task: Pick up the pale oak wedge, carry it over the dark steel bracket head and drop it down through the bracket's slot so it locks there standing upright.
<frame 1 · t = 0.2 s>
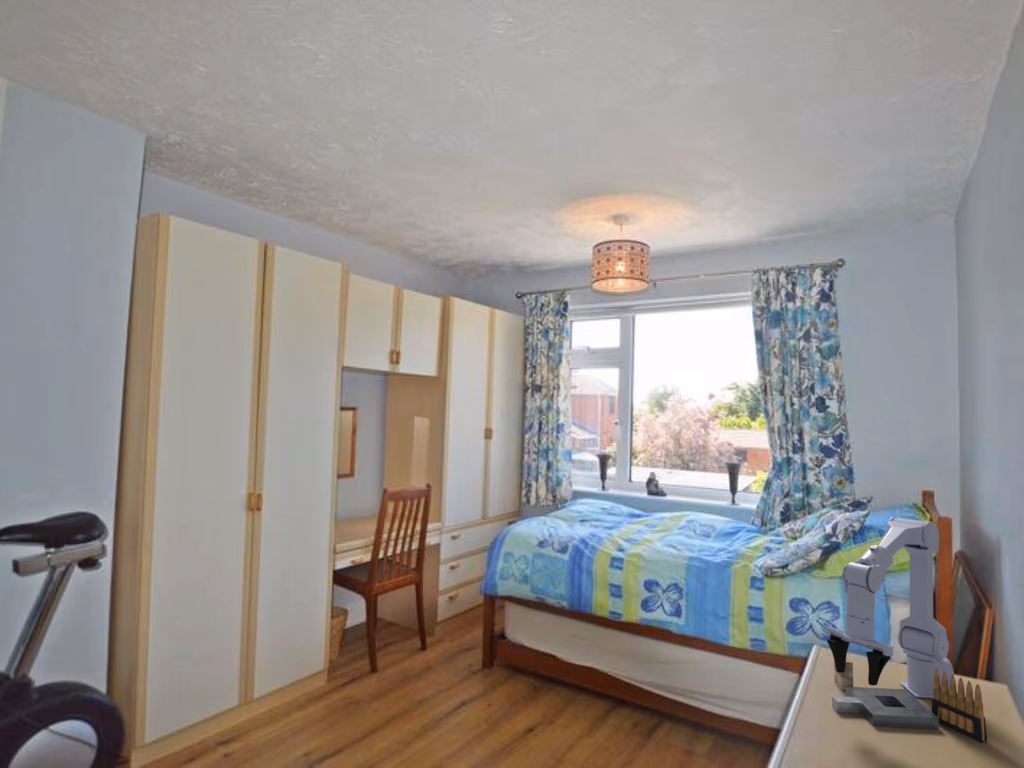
hand: (856, 678, 137), 11 cm above the cabinet, tool pointing down, fingers open, 7 cm apart
steel bracket head: (890, 712, 143), on the cabinet
ammunition clip: (958, 731, 135), on the cabinet
oak wedge: (843, 686, 156), on the cabinet
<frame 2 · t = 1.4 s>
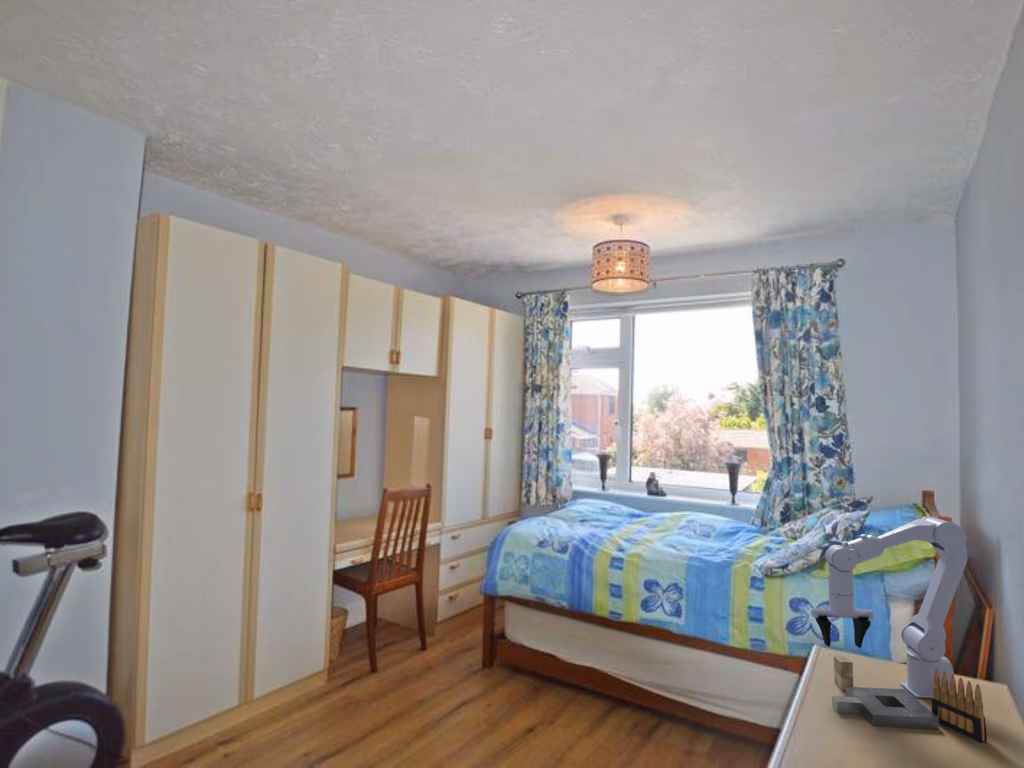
hand: (842, 645, 157), 10 cm above the cabinet, tool pointing down, fingers open, 7 cm apart
nothing on the cabinet moved.
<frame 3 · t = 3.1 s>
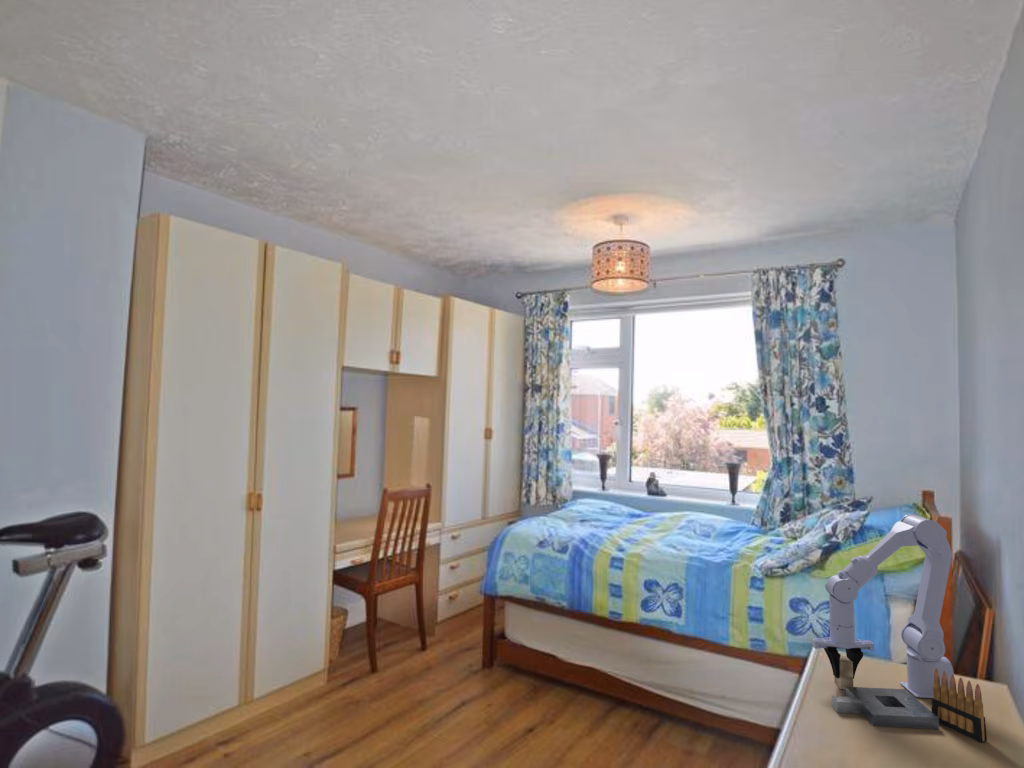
hand: (843, 676, 156), 2 cm above the cabinet, tool pointing down, fingers closed on oak wedge, 3 cm apart
oak wedge: (843, 686, 156), on the cabinet, touching gripper
everything else where it was.
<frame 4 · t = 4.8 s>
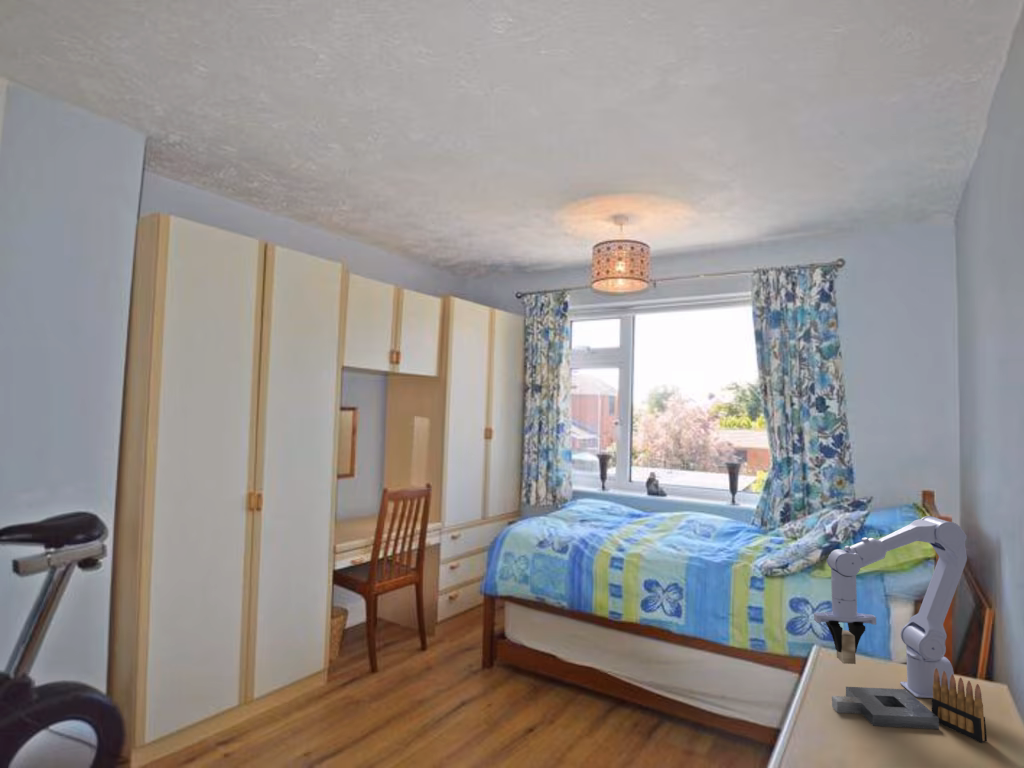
hand: (845, 650, 156), 9 cm above the cabinet, tool pointing down, fingers closed on oak wedge, 3 cm apart
oak wedge: (846, 660, 156), point 7 cm above the cabinet, touching gripper
everything else where it was.
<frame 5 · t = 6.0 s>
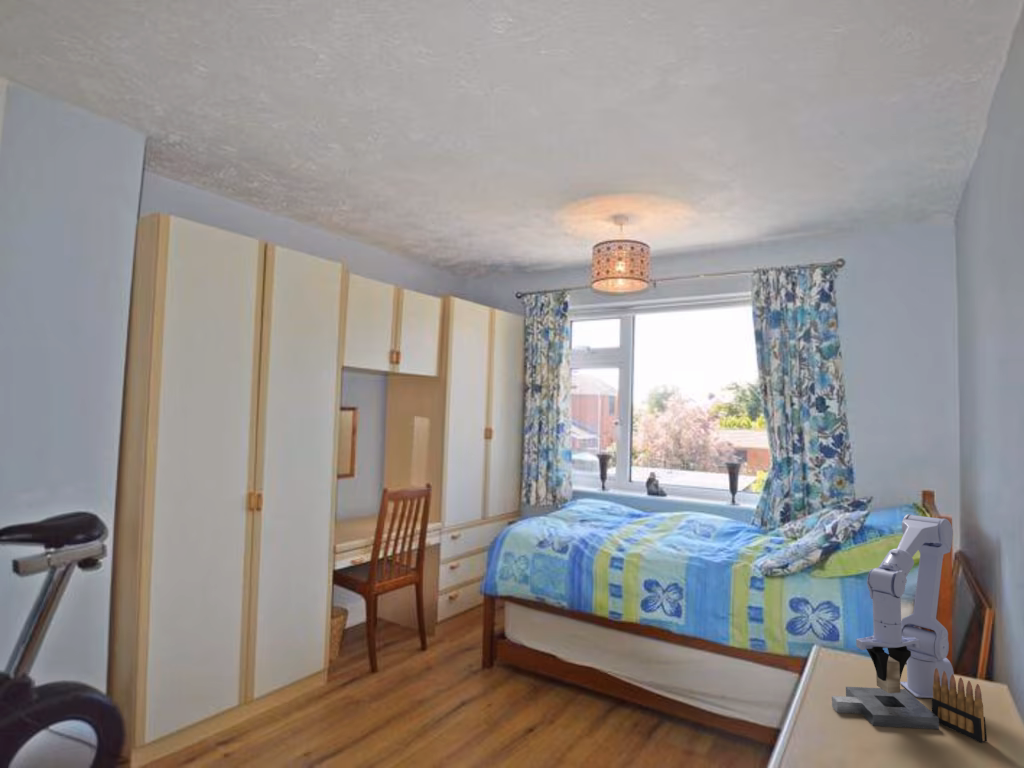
hand: (888, 678, 143), 8 cm above the cabinet, tool pointing down, fingers closed on oak wedge, 3 cm apart
oak wedge: (888, 688, 143), point 5 cm above the cabinet, touching gripper
everything else where it was.
when the fingers open (3 cm above the cabinet, at t = 7.0 s): oak wedge stays where it is, resting in steel bracket head.
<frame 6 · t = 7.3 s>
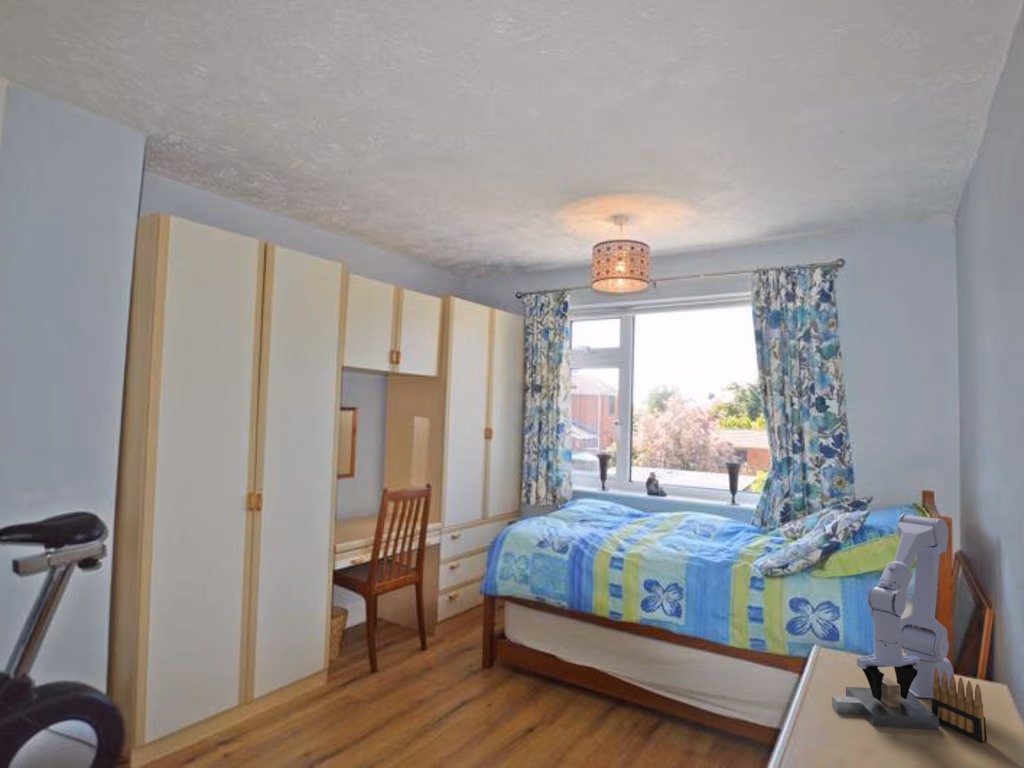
hand: (889, 697, 143), 3 cm above the cabinet, tool pointing down, fingers open, 6 cm apart
oak wedge: (889, 711, 143), resting in steel bracket head
everything else where it was.
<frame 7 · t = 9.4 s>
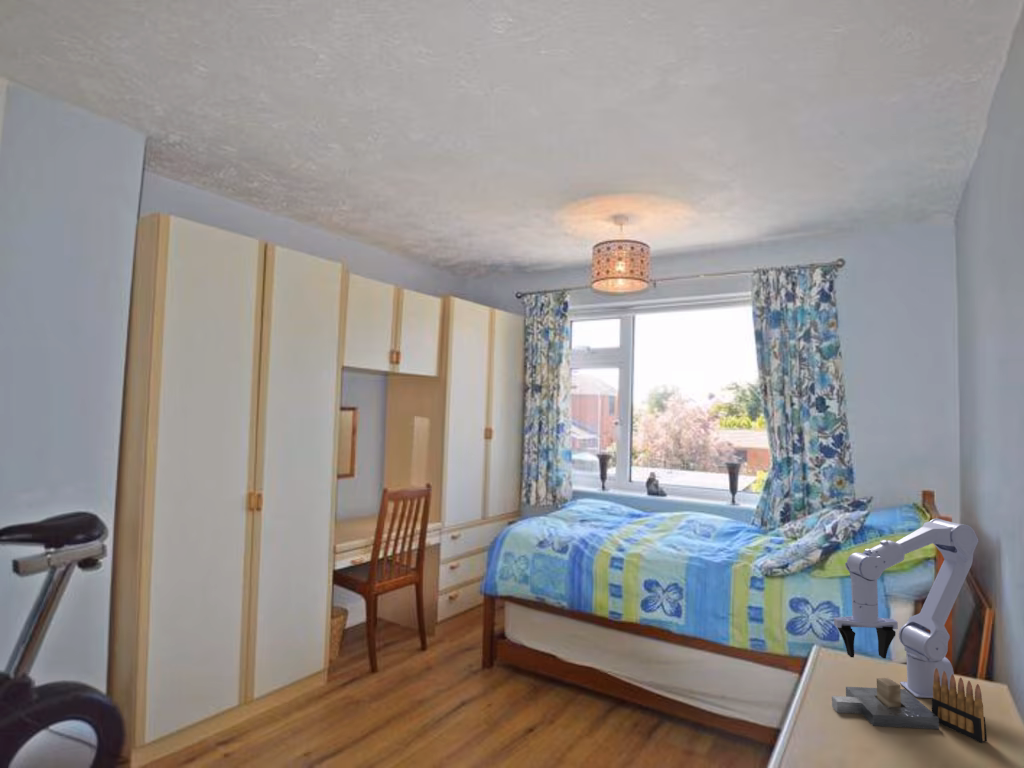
hand: (866, 656, 152), 9 cm above the cabinet, tool pointing down, fingers open, 7 cm apart
nothing on the cabinet moved.
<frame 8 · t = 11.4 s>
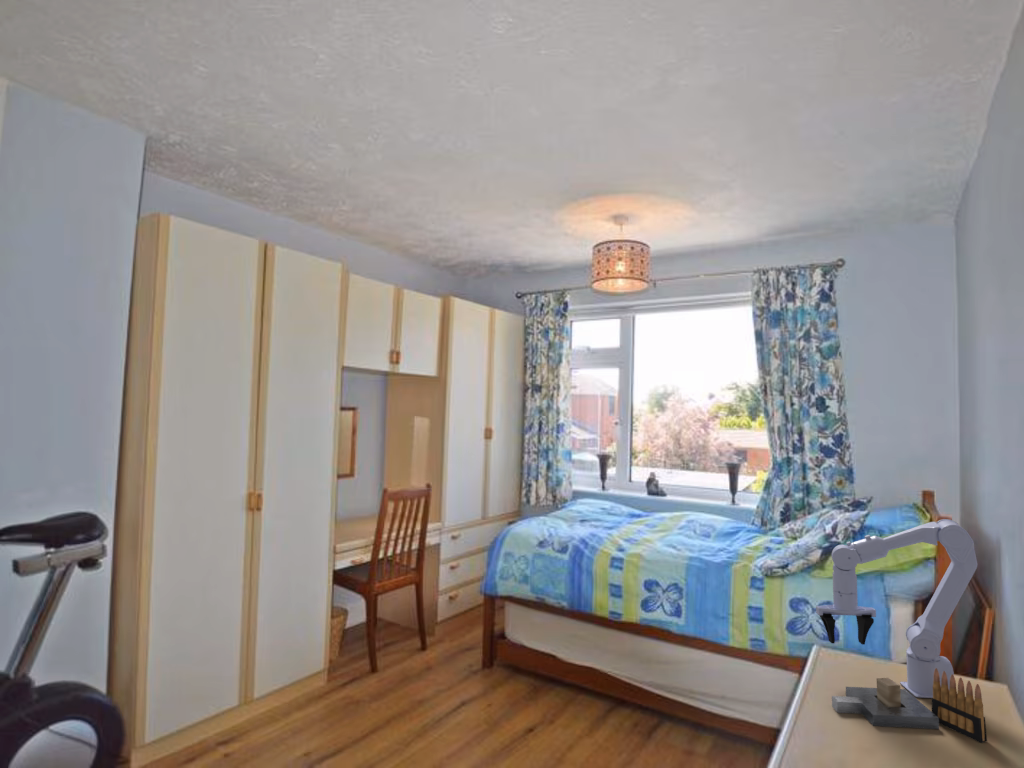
hand: (846, 642, 161), 9 cm above the cabinet, tool pointing down, fingers open, 7 cm apart
nothing on the cabinet moved.
at the end: oak wedge 0.3 cm off-centre on the steel bracket head, point 0.0 cm above the steel bracket head's base; oak wedge tilted 0°; the gripper is holding nothing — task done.
